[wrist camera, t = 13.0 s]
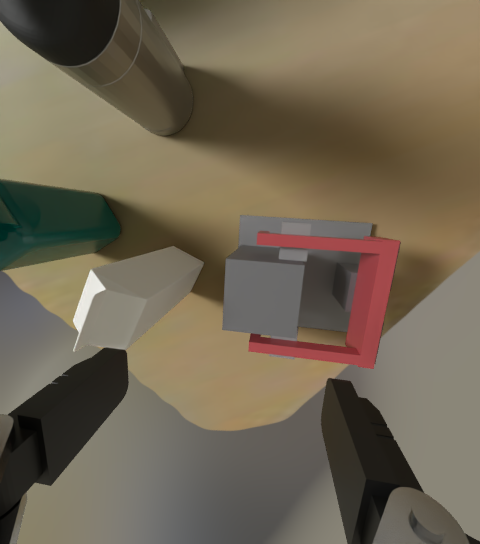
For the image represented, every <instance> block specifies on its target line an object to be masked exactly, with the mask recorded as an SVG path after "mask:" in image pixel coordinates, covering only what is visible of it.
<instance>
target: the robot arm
mask: <svg viewBox="0 0 480 544" xmlns="http://www.w3.org/2000/svg"><path fill="white" fill-rule="evenodd" d="M0 21H1V22H2V23H3V25H4V26H5V27H6V28H7V29H8V30H9V31H10V32H11V33H12V34H13V35H14V36H15V37H16V38H17V39H18V40H20V41H21V42H22V43H24V44H25V45H26V46H28V47H29V48H30V49H32V50H33V51H35V52H36V53H38V54H39V55H40V56H42V57H43V58H45V59H46V60H48V61H49V62H50V63H52V64H53V65H55V66H56V67H58V68H59V69H60V70H62V71H63V72H65V73H66V74H68V75H69V76H71V77H72V78H73V79H75V80H76V81H78V82H79V83H81V84H82V85H84V86H85V87H86V88H88V89H89V90H91V91H92V92H94V93H95V94H96V95H98V96H99V97H101V98H102V99H104V100H105V101H107V102H108V103H109V104H111V105H112V106H114V107H115V108H117V109H118V110H119V111H121V112H122V113H124V114H125V115H127V116H128V117H129V118H131V119H132V120H134V121H135V122H137V123H138V124H140V125H141V126H142V127H143V128H145V129H147V130H148V131H150V132H151V133H154V134H156V135H162V136H166V135H171V134H174V133H176V132H178V131H179V130H181V129H182V128H183V127H184V126H185V125H186V123H187V121H188V120H189V118H190V115H191V113H192V108H193V93H192V89H191V86H190V83H189V81H188V80H187V78H186V76H185V75H184V71H183V70H184V66H183V64H182V62H181V61H180V59H179V57H178V56H177V54H176V52H175V51H174V49H173V47H172V45H171V44H170V42H169V40H168V39H167V37H166V35H165V34H164V32H163V30H162V29H161V27H160V25H159V23H158V22H157V20H156V18H155V17H154V15H153V13H152V12H151V11H150V10H149V9H144V8H143V7H142V5H141V3H140V2H139V0H0ZM127 389H128V363H127V353H126V351H125V350H123V349H115V348H108V347H106V348H103V349H102V350H101V351H99V352H98V353H97V354H95V355H94V356H93V357H92V358H89V359H87V360H84V361H82V362H80V363H78V364H76V365H74V366H73V367H71V368H70V369H69V370H67V371H66V372H65V373H63V374H62V376H59V377H58V378H56V379H55V380H54V381H52V383H51V384H48V385H47V386H46V387H44V388H43V389H42V390H40V391H39V392H37V393H36V394H35V395H33V396H32V397H31V398H29V399H28V400H27V401H25V402H24V403H23V404H21V405H20V406H19V407H17V408H16V409H15V410H13V411H12V412H11V413H9V414H8V415H4V414H0V544H16V543H17V539H18V535H19V531H20V527H21V523H22V518H23V515H24V510H25V506H26V502H27V491H28V490H29V488H30V487H31V486H32V485H33V484H34V483H40V484H45V485H50V486H51V485H52V484H53V483H54V481H55V480H56V479H57V478H58V477H59V475H60V474H61V473H62V472H63V471H64V469H65V468H66V467H67V466H68V465H69V463H70V462H71V461H72V460H73V459H74V457H75V456H76V455H77V454H78V453H79V451H80V450H81V449H82V448H83V446H84V445H85V444H86V443H87V442H88V441H89V439H90V438H91V437H92V436H93V435H94V433H95V432H96V431H97V430H98V428H99V427H100V426H101V425H102V424H103V422H104V421H105V420H106V419H107V418H108V416H109V415H110V414H111V413H112V411H113V410H114V409H115V408H116V407H117V406H118V404H119V403H120V402H121V401H122V399H123V398H124V396H125V394H126V392H127ZM321 426H322V433H323V438H324V442H325V446H326V451H327V455H328V460H329V464H330V468H331V473H332V477H333V482H334V486H335V490H336V494H337V499H338V504H339V508H340V512H341V517H342V521H343V526H344V530H345V534H346V539H347V543H348V544H480V541H478V540H476V539H474V538H472V537H470V536H468V535H467V534H465V533H464V531H463V530H462V528H461V526H460V525H459V524H458V522H457V521H456V520H455V519H454V517H453V516H452V515H451V514H450V513H449V512H448V511H447V510H446V509H445V508H444V507H443V506H442V505H441V504H439V503H438V502H437V501H436V500H434V499H433V498H432V497H430V496H428V495H427V494H425V493H424V492H423V490H422V488H421V486H420V484H419V483H418V481H417V479H416V477H415V475H414V473H413V472H412V470H411V468H410V466H409V464H408V462H407V461H406V459H405V457H404V455H403V453H402V451H401V450H400V448H399V446H398V444H397V442H396V441H395V440H394V437H393V435H392V433H391V431H390V430H389V428H387V424H386V422H385V420H384V419H383V417H382V415H381V413H380V411H379V410H378V409H377V408H376V407H375V406H374V405H373V404H372V403H371V402H370V401H369V400H368V399H366V398H360V397H358V395H357V393H356V391H355V389H354V387H353V385H352V383H351V381H346V380H338V379H332V378H328V380H327V383H326V389H325V395H324V402H323V408H322V416H321Z"/></svg>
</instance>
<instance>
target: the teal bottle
mask: <svg viewBox="0 0 480 544" xmlns="http://www.w3.org/2000/svg"><path fill="white" fill-rule="evenodd" d="M120 231H121V228H120V224H119V222H118V221H117V219H116V217H115V216H114V214H113V213H112V211H111V209H110V208H109V206H108V205H107V203H106V201H105V200H104V198H103V197H102V196H101V195H100V194H98V193H95V192H90V191H83V190H76V189H69V188H62V187H55V186H48V185H41V184H34V183H27V182H20V181H13V180H6V179H0V271H3V270H8V269H14V268H19V267H24V266H29V265H34V264H39V263H44V262H49V261H55V260H60V259H65V258H70V257H75V256H80V255H85V254H90V253H95V252H97V251H98V250H100V249H102V248H103V247H105V246H106V245H108V244H109V243H111V242H112V241H114V240H116V239H117V238H118V237H119V235H120Z"/></svg>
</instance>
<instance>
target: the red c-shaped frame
mask: <svg viewBox="0 0 480 544" xmlns="http://www.w3.org/2000/svg"><path fill="white" fill-rule="evenodd" d="M400 243H401V242H400V241H399V240H393V239H388V238H382V237H373V236H364V239H350V238H335V237H321V236H306V235H292V234H277V233H270V231H259V232H258V233H257V245H268V246H281V247H295V248H308V249H321V250H335V251H348V252H361V256H360V262H359V268H358V274H357V279H356V285H355V291H354V296H353V302H352V308H351V314H350V319H349V325H348V331H347V336H346V342H345V345H346V346H347V347H341V346H332V345H324V344H315V343H307V342H299V341H290V340H282V339H274V338H265V337H261V334H253V333H251V335H250V340H249V351H250V352H258V353H266V354H274V355H282V356H290V357H297V358H305V359H313V360H321V361H329V362H337V363H345V364H353V365H358V367H363V368H371V369H373V368H374V364H375V362H376V357H377V353H378V348H379V343H380V338H381V334H382V329H383V324H384V322H383V321H384V316H385V312H386V307H387V302H388V297H389V293H390V291H391V286H392V281H393V276H394V272H395V267H396V262H397V257H398V253H399V248H400Z"/></svg>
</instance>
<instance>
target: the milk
mask: <svg viewBox="0 0 480 544" xmlns="http://www.w3.org/2000/svg"><path fill="white" fill-rule="evenodd" d="M203 265H204V262H203V261H201V260H199V259H197V258H195V257H193V256H191V255H189V254H188V253H186V252H184V251H182V250H180V249H178V248H176V247H175V246H171V247H168V248H164V249H161V250H157V251H153V252H150V253H146V254H143V255H139V256H136V257H132V258H129V259H125V260H121V261H118V262H114V263H111V264H107V265H104V266H100V267H96V268H93V269H91V270H90V273H89V276H88V278H87V281H86V284H85V287H84V290H83V293H82V296H81V299H80V302H79V305H78V307H77V310H76V313H75V316H74V319H73V323H74V324H75V326H76V328H77V330H78V332H79V335H78V338H77V341H76V344H75V346H74V349H73V352H76V351H78V350H80V349H81V348H82V347H84V346H86V345H92V346H99V347H108V348H115V349H123V350H126V349H127V348H129V347H130V346H131V345H132V344H133V343H134V342H135V341H136V340H138V339H139V338H140V337H141V336H142V335H143V334H144V333H145V332H146V331H148V330H149V329H150V328H151V327H152V326H153V325H154V324H155V323H156V322H158V321H159V320H160V319H161V318H162V317H163V316H164V315H165V314H167V313H168V312H169V311H170V310H171V309H172V308H173V307H174V306H175V305H177V304H178V303H179V302H180V301H181V300H182V299H183V298H184V297H186V296H187V295H188V294H189V293H190V292H191V290H192V288H193V286H194V284H195V281H196V279H197V277H198V275H199V273H200V271H201V269H202V267H203Z"/></svg>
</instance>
